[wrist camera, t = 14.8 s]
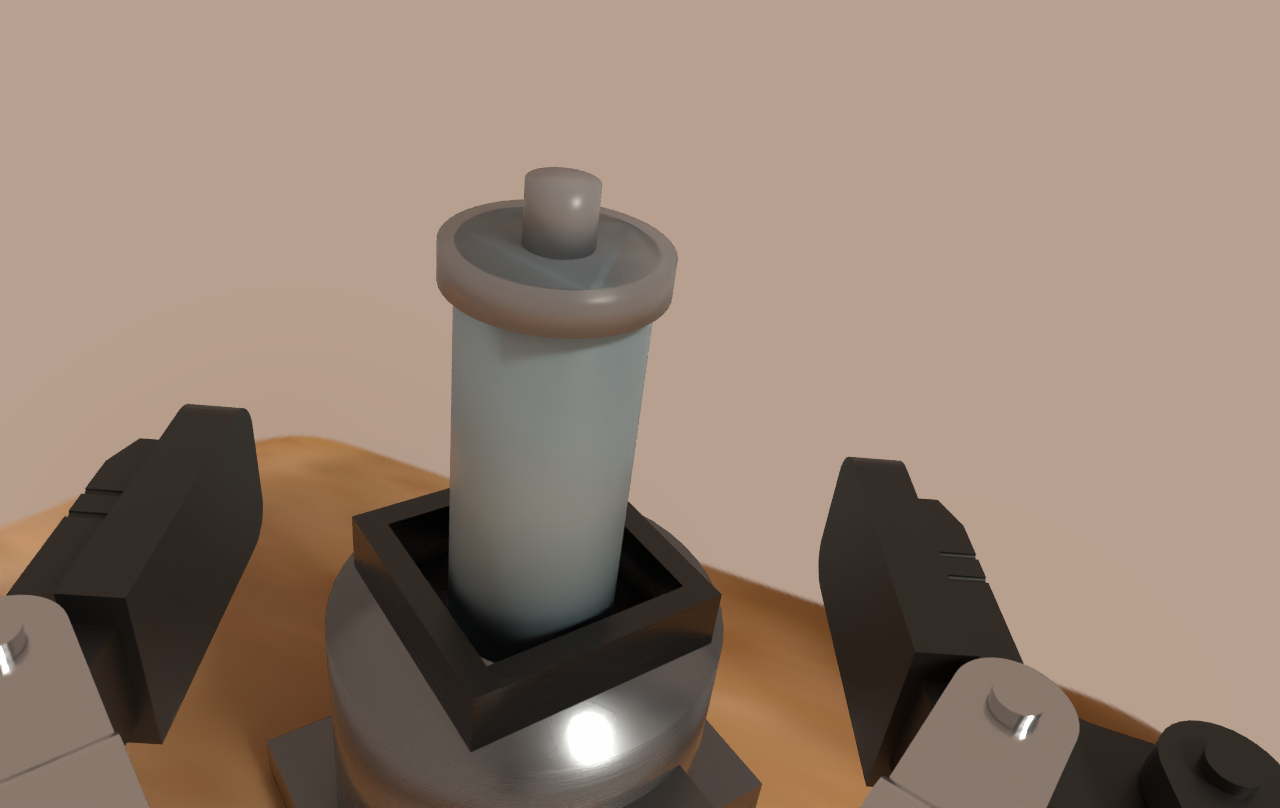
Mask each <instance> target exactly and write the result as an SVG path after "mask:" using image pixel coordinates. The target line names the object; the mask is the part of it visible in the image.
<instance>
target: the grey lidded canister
mask: <svg viewBox="0 0 1280 808" xmlns="http://www.w3.org/2000/svg"><path fill="white" fill-rule="evenodd" d="M524 189H525V190H524V200H510V201H501V202H495V203H489V204H484V205H480V206H476V207H473V208H470V209H467V210H465V211H462V212H460V213H458V214H456V215H454V216H453V217H451V218H450V219H448V220H447V221H446V222H445V223H444V224H443V225H442V226H441V228H440V229H439V232H438V234H437V268H436V269H437V271H436V274H437V276H436V281H437V285H438V288H439V290H440V291H441V293H442V295H443V296H444V297H445V298H446V299H447V300H448V302H450V303H451V304H452V305H453V330H452V333H453V334H452V391H451V392H452V393H451V394H452V395H451V451H450V452H451V453H450V454H451V455H450V511H449V571H448V611H449V613H450V614H451V616H452V617H453V618H454V620H455V621H456V623H457V624H458V626H459V627H460V628H461V630H462V631H463V633H464V634H465V636H466V637H467V638H468V640H469V641H470V643H471V644H472V646H473V647H474V649H475V650H476V651H477V653H478V654H479V656H480V657H482V658H484V659H486V660H488V661H491V662H493V663H496V662H499V661H501V660H504V659H506V658H509V657H511V656H513V655H516V654H518V653H521V652H523V651H526V650H528V649H531V648H533V647H536V646H538V645H541V644H543V643H545V642H548V641H550V640H553V639H555V638H558V637H560V636H563V635H565V634H568V633H570V632H572V631H575V630H577V629H580V628H582V627H585V626H587V625H590V624H592V623H595V622H597V621H600V620H602V619H604V618H607V617H609V616H612V612H613V605H614V598H615V591H616V583H617V576H618V569H619V562H620V554H621V547H622V540H623V533H624V525H625V518H626V511H627V503H628V496H629V489H630V481H631V473H632V467H633V459H634V452H635V445H636V438H637V431H638V424H639V416H640V409H641V401H642V395H643V387H644V380H645V373H646V365H647V358H648V351H649V343H650V336H651V329H652V322H654V321H655V320H657V319H658V318H659V317H661V316H662V315H663V314H664V313H665V312H666V311H667V309H668V308H669V306H670V304H671V300H672V294H673V288H674V281H675V274H676V268H677V261H678V257H677V252H676V249H675V247H674V246H673V244H672V243H671V241H670V240H669V239H668V238H667V237H666V236H664V234H662V233H661V232H659V231H658V230H657V229H655V228H654V227H652V226H650V225H649V224H647V223H645V222H643V221H641V220H639V219H636V218H634V217H631V216H629V215H626V214H623V213H620V212H617V211H614V210H610V209H606V208H602V207H600V202H601V191H602V182H601V180H600V179H599V178H597V177H596V176H594V175H592V174H590V173H587V172H584V171H580V170H576V169H571V168H561V167H548V168H539V169H535V170H532V171H530V172H528V173H527V174H526V176H525V188H524Z"/></svg>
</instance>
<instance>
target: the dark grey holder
mask: <svg viewBox="0 0 1280 808" xmlns="http://www.w3.org/2000/svg"><path fill="white" fill-rule="evenodd" d="M449 511H450V488H448V489H445V490H441V491H438V492H435V493H431V494H428V495H424V496H421V497H417V498H414V499H411V500H407V501H404V502H400V503H397V504H394V505H390V506H387V507H383V508H380V509H376V510H373V511H370V512H366V513H363V514H359V515H356V516H353V517H352V526H353V546H354V552H353V554H352V555H351V556H350V557H349V559H348V560H347V561H346V563H345V564H344V565H343V567H342V569H341V571H340V573H339V574H338V576H337V578H336V580H335V582H334V585H333V587H332V590H331V593H330V596H329V599H328V604H327V611H326V617H325V624H326V646H327V659H328V673H329V687H330V700H331V714H332V716H329V717H327V718H324V719H322V720H319V721H317V722H314V723H312V724H309V725H307V726H304V727H302V728H299V729H297V730H294V731H292V732H289V733H287V734H284V735H282V736H279V737H277V738H274V739H272V740H269V741H267V747H268V754H269V762H270V770H271V772H272V774H273V777H274V779H275V781H276V784H277V786H278V788H279V790H280V793H281V795H282V797H283V800H284V802H285V804H286V807H287V808H755V807H756V804H757V800H758V797H759V793H760V790H761V786H762V783H761V782H760V781H759V780H758V779H757V777H756V776H755V775H754V774H753V773H752V772H751V771H750V769H749V768H748V767H747V766H746V765H745V764H744V763H743V761H742V760H741V759H740V758H739V757H738V756H737V754H736V753H735V752H734V751H733V750H732V749H731V748H730V746H729V745H728V744H727V743H726V742H725V741H724V740H723V738H722V737H721V736H720V735H719V734H718V733H717V731H716V730H715V729H714V728H713V727H712V726H711V725H710V723H709V722H708V721H707V720H706V716H707V712H708V707H709V703H710V698H711V694H712V689H713V685H714V680H715V676H716V671H717V667H718V662H719V658H720V653H721V649H722V641H723V621H722V613H721V608H720V599H721V595H722V594H721V593H720V592H719V591H718V590H717V589H716V588H715V587H714V586H713V585H712V583H711V581H710V579H709V577H708V575H707V574H706V572H705V571H704V569H703V568H702V566H701V565H700V563H699V562H698V560H697V559H696V558H695V557H694V556H693V555H692V554H691V553H690V551H689V550H688V549H687V548H686V547H685V546H684V545H683V544H682V543H681V542H680V541H678V540H677V539H676V538H675V537H674V536H673V535H671V534H670V533H669V532H668V531H666V530H665V529H663V528H662V527H660V526H659V525H658V524H656V523H655V522H653V521H652V520H650V519H648V518H646V517H644V516H642V515H641V514H640V513H639V512H638V511H637V510H636V509H635V508H634V507H633V506H632V505H631V504H630V503H629V502H628V503H627V511H626V518H625V525H624V533H623V540H622V547H621V554H620V562H619V569H618V576H617V583H616V591H615V598H614V605H613V612H612V616H609V617H607V618H604V619H602V620H600V621H597V622H595V623H592V624H590V625H587V626H585V627H582V628H580V629H577V630H575V631H572V632H570V633H568V634H565V635H563V636H560V637H558V638H555V639H553V640H550V641H548V642H545V643H543V644H541V645H538V646H536V647H533V648H531V649H528V650H526V651H523V652H521V653H518V654H516V655H513V656H511V657H509V658H506V659H504V660H501V661H499V662H496V663H493V662H491V661H488V660H486V659H484V658H482V657H480V656H479V654H478V653H477V651H476V650H475V649H474V647H473V646H472V644H471V643H470V641H469V640H468V638H467V637H466V636H465V634H464V633H463V631H462V630H461V628H460V627H459V626H458V624H457V623H456V621H455V620H454V618H453V617H452V616H451V614H450V613H449V611H448V571H449Z"/></svg>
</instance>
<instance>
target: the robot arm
mask: <svg viewBox="0 0 1280 808" xmlns="http://www.w3.org/2000/svg"><path fill="white" fill-rule="evenodd" d="M262 514H263V501H262V492H261V485H260V478H259V470H258V463H257V456H256V448H255V441H254V434H253V426H252V420H251V417H250V414H249V412H248V411H247V410H246V409H244V408H232V407H219V406H207V405H194V404H186V405H184V406H183V407H182V408H181V409H180V410H179V412H178V413H177V414H176V416H175V417H174V419H173V420H172V422H171V423H170V425H169V426H168V427H167V429H166V430H165V432H164V433H163V435H162V436H161V438H160V439H159V440H155V439H139V440H137V441H135V442H134V443H132V444H131V445H129V446H128V447H126V448H125V449H123V450H122V451H120V452H119V453H117V454H116V455H114V456H113V457H111V458H110V459H108V460H106V461H105V463H104V464H103V465H102V467H101V468H100V469H99V471H98V472H97V473H96V475H95V476H94V477H93V479H92V480H91V481H90V483H89V484H88V486H87V487H86V491H85V494H81V495H80V496H79V498H78V499H77V500H76V502H75V503H74V504H73V506H72V507H71V508H70V510H69V515H68V517H66V516H65V517H64V518H63V519H62V521H61V522H60V523H59V525H58V526H57V527H56V529H55V530H54V531H53V533H52V534H51V535H50V537H49V538H48V539H47V541H46V542H45V543H44V545H43V546H42V548H41V549H40V550H39V552H38V553H37V554H36V556H35V557H34V558H33V560H32V561H31V562H30V564H29V565H28V566H27V568H26V569H25V570H24V572H23V573H22V574H21V576H20V577H19V579H18V580H17V581H16V583H15V584H14V585H13V587H12V588H11V589H10V591H9V592H8V593H7V595H6V596H2V597H0V808H149V805H148V803H147V800H146V798H145V795H144V793H143V790H142V788H141V786H140V783H139V781H138V778H137V776H136V773H135V771H134V768H133V766H132V763H131V761H130V758H129V756H128V753H127V751H126V748H125V745H126V743H127V742H131V743H149V744H162V743H163V741H164V739H165V737H166V735H167V733H168V731H169V729H170V727H171V724H172V722H173V720H174V718H175V716H176V714H177V712H178V710H179V707H180V705H181V703H182V701H183V699H184V697H185V695H186V693H187V690H188V688H189V686H190V684H191V682H192V680H193V678H194V676H195V674H196V671H197V669H198V667H199V665H200V663H201V661H202V659H203V657H204V654H205V652H206V650H207V648H208V646H209V644H210V642H211V640H212V638H213V635H214V633H215V631H216V629H217V627H218V625H219V623H220V621H221V618H222V616H223V614H224V612H225V610H226V608H227V606H228V604H229V601H230V599H231V597H232V595H233V593H234V591H235V589H236V587H237V585H238V582H239V580H240V578H241V576H242V574H243V572H244V570H245V568H246V565H247V563H248V561H249V559H250V557H251V555H252V553H253V551H254V549H255V546H256V544H257V541H258V538H259V534H260V529H261V523H262ZM975 555H976V554H975V551H974V549H973V547H972V545H971V542H970V540H969V537H968V535H967V533H966V531H965V528H964V526H963V525H962V524H961V523H960V522H959V521H958V520H957V519H956V518H955V517H954V516H953V515H952V514H951V513H950V512H949V511H948V510H947V509H946V508H945V507H944V506H943V505H942V504H941V503H940V502H939V501H938V500H931V499H918V497H917V494H916V492H915V489H914V487H913V484H912V482H911V479H910V477H909V474H908V472H907V469H906V467H905V465H904V463H903V462H902V461H896V460H883V459H869V458H856V457H847V458H846V459H845V460H844V462H843V464H842V466H841V470H840V472H839V477H838V480H837V484H836V488H835V491H834V495H833V499H832V503H831V506H830V510H829V514H828V518H827V521H826V525H825V529H824V533H823V537H822V540H821V545H820V552H819V582H820V588H821V592H822V597H823V601H824V606H825V610H826V614H827V619H828V623H829V627H830V632H831V636H832V640H833V645H834V649H835V653H836V658H837V662H838V666H839V671H840V675H841V679H842V684H843V688H844V692H845V696H846V701H847V705H848V709H849V714H850V718H851V722H852V727H853V731H854V735H855V740H856V744H857V748H858V753H859V757H860V761H861V766H862V770H863V774H864V779H865V783H866V786H870V787H873V788H872V790H871V791H870V793H869V794H868V796H867V797H866V799H865V800H864V802H863V804H862V805H861V807H860V808H1280V765H1279V763H1278V762H1277V761H1276V760H1275V759H1274V758H1273V757H1272V756H1270V755H1269V754H1268V753H1267V752H1266V751H1265V750H1263V749H1262V748H1261V747H1259V746H1258V745H1257V744H1255V743H1254V742H1252V741H1251V740H1249V739H1248V738H1246V737H1244V736H1242V735H1241V734H1239V733H1237V732H1235V731H1233V730H1230V729H1227V728H1225V727H1223V726H1220V725H1216V724H1213V723H1208V722H1203V721H1190V720H1189V721H1182V722H1178V723H1175V724H1172V725H1171V726H1169V727H1168V728H1166V729H1165V730H1164V732H1163V733H1162V734H1161V736H1160V737H1159V739H1158V741H1157V742H1156V744H1152V743H1149V742H1146V741H1143V740H1140V739H1137V738H1134V737H1130V736H1127V735H1124V734H1121V733H1118V732H1115V731H1112V730H1109V729H1106V728H1103V727H1099V726H1097V725H1094V724H1091V723H1089V722H1086V721H1084V720H1082V719H1080V718H1078V715H1077V713H1076V710H1075V708H1074V706H1073V704H1072V703H1071V701H1070V700H1069V698H1068V697H1067V696H1066V694H1065V693H1064V692H1063V691H1062V690H1061V689H1060V688H1059V687H1058V686H1057V685H1056V684H1055V683H1054V682H1053V681H1051V680H1050V679H1049V678H1047V677H1046V676H1045V675H1043V674H1042V673H1040V672H1038V671H1036V670H1035V669H1033V668H1031V667H1028V666H1026V665H1024V664H1023V661H1022V659H1021V657H1020V655H1019V652H1018V650H1017V648H1016V645H1015V643H1014V641H1013V639H1012V636H1011V634H1010V632H1009V629H1008V627H1007V625H1006V622H1005V620H1004V618H1003V615H1002V613H1001V611H1000V609H999V606H998V604H997V602H996V599H995V597H994V595H993V593H992V590H991V588H990V586H989V583H986V582H985V578H986V577H985V574H984V572H983V570H982V567H981V565H980V563H979V561H978V560H976V559H975Z"/></svg>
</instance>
